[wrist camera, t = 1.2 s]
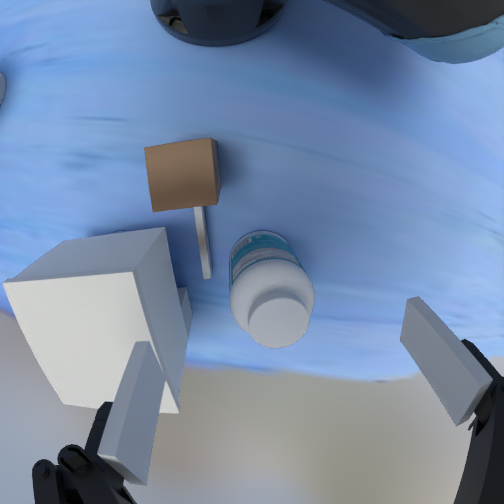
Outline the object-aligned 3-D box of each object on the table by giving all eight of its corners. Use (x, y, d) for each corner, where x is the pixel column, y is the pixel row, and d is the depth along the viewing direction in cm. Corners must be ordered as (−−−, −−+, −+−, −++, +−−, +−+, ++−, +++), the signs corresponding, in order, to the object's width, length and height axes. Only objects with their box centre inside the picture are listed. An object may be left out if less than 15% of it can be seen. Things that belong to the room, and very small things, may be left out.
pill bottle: (281, 292, 36) (307, 366, 23) (223, 281, 35) (221, 355, 22) (299, 236, 33) (340, 291, 21) (237, 221, 32) (242, 272, 20)
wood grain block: (170, 147, 29) (144, 147, 19) (216, 140, 29) (210, 137, 20) (188, 271, 34) (174, 318, 24) (229, 267, 34) (230, 313, 25)
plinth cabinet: (81, 226, 31) (2, 283, 16) (175, 212, 31) (132, 271, 16) (108, 320, 35) (63, 403, 21) (194, 315, 36) (179, 412, 21)
